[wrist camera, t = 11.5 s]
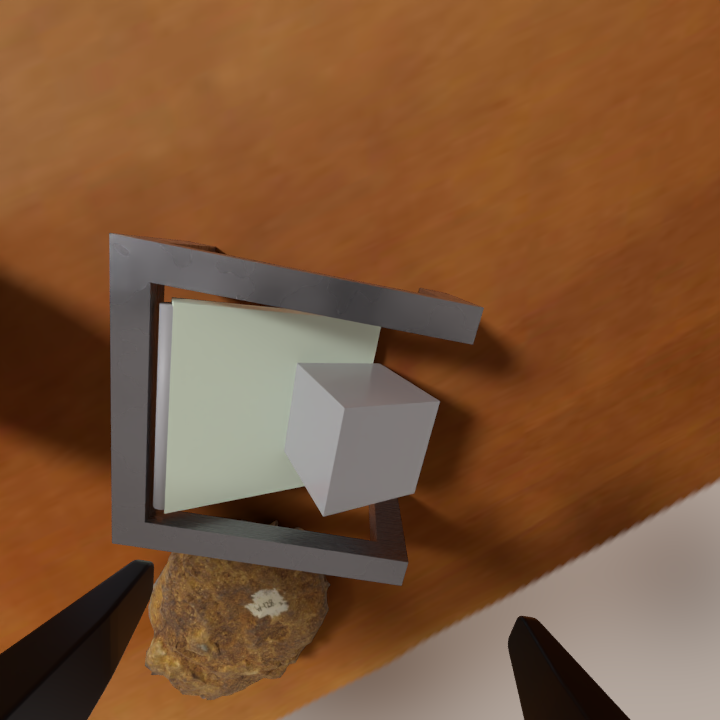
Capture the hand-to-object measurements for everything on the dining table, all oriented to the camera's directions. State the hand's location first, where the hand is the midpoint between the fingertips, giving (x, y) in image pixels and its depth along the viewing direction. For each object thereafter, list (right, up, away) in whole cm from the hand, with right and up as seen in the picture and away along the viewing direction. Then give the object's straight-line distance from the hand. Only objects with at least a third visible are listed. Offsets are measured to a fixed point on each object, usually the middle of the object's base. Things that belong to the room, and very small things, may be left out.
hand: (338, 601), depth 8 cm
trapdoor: (-4, +4, +10) cm, 11 cm away
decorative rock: (-8, -11, +17) cm, 22 cm away
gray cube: (-1, +3, +11) cm, 11 cm away
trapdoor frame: (-3, +4, +12) cm, 13 cm away
